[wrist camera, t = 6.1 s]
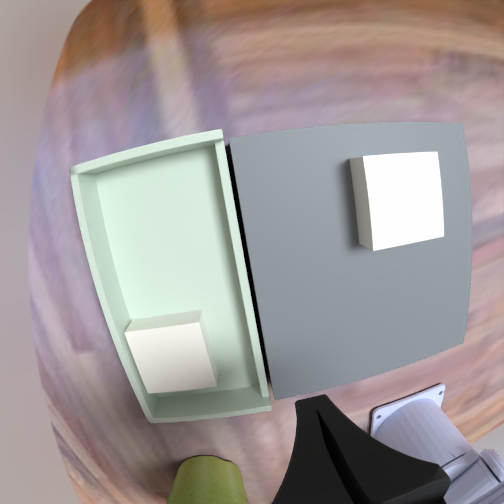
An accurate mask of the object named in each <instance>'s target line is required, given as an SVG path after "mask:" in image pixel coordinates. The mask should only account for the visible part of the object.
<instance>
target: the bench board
mask: <svg viewBox="0 0 504 504" xmlns="http://www.w3.org/2000/svg"><path fill="white" fill-rule="evenodd" d="M229 145H230V151H231V157H232V163H233V169H234V174H235V180H236V186H237V192H238V198H239V203H240V209H241V215H242V221H243V227H244V232H245V238H246V244H247V250H248V255H249V261H250V267H251V272H252V278H253V284H254V290H255V295H256V301H257V307H258V312H259V318H260V324H261V329H262V335H263V341H264V346H265V352H266V357H267V363H268V369H269V374H270V380H271V385H272V390H273V395H274V399H275V400H277V399H282V398H287V397H292V396H297V395H302V394H306V393H311V392H315V391H319V390H323V389H328V388H332V387H335V386H339V385H343V384H347V383H350V382H354V381H358V380H361V379H365V378H368V377H371V376H375V375H378V374H381V373H384V372H387V371H390V370H393V369H396V368H399V367H402V366H405V365H408V364H411V363H414V362H416V361H419V360H422V359H425V358H427V357H430V356H433V355H435V354H438V353H440V352H443V351H445V350H448V349H450V348H452V347H455V346H457V345H459V344H462V343H464V337H465V330H466V323H467V315H468V307H469V297H470V286H471V270H472V200H471V185H470V174H469V164H468V155H467V148H466V141H465V134H464V128H463V123H444V122H384V123H360V124H344V125H330V126H318V127H308V128H298V129H290V130H281V131H274V132H266V133H259V134H252V135H246V136H239V137H233V138H229ZM416 152H438V160H439V168H440V178H441V188H442V201H443V219H444V237H439V238H434V239H429V240H425V241H420V242H415V243H410V244H406V245H401V246H396V247H391V248H386V249H381V250H376V251H372V250H370V249H369V248H367V247H365V246H363V245H361V244H359V235H358V225H357V215H356V206H355V197H354V189H353V182H352V175H351V168H350V161H349V158H356V157H363V156H373V155H386V154H400V153H416Z"/></svg>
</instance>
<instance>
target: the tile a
mask: <svg viewBox="0 0 504 504" xmlns="http://www.w3.org/2000/svg"><path fill="white" fill-rule="evenodd" d="M124 333H125V336H126V339H127V342H128V344H129V347H130V350H131V352H132V355H133V358H134V360H135V363H136V366H137V368H138V371H139V373H140V376H141V378H142V381H143V383H144V385H145V388H146V390H147V393H162V392H174V391H185V390H194V389H203V388H211V387H217V377H218V369H217V366H216V362H215V358H214V354H213V351H212V347H211V343H210V339H209V335H208V331H207V327H206V323H205V319H204V315H203V311H202V309H199V310H193V311H186V312H180V313H173V314H166V315H159V316H152V317H145V318H138V319H132V321H131V322H130V324H129V326H128V327H127V329H126V330H125V332H124Z"/></svg>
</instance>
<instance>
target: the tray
mask: <svg viewBox="0 0 504 504" xmlns="http://www.w3.org/2000/svg"><path fill="white" fill-rule="evenodd" d="M69 170H70V177H71V183H72V189H73V195H74V200H75V205H76V211H77V216H78V220H79V225H80V230H81V234H82V238H83V242H84V247H85V251H86V255H87V258H88V262H89V266H90V270H91V273H92V277H93V280H94V284H95V287H96V291H97V294H98V297H99V300H100V303H101V307H102V310H103V313H104V316H105V319H106V322H107V324H108V327H109V330H110V333H111V336H112V338H113V341H114V344H115V346H116V349H117V352H118V354H119V357H120V359H121V362H122V364H123V367H124V369H125V372H126V374H127V376H128V379H129V381H130V383H131V386H132V388H133V390H134V393H135V395H136V397H137V399H138V401H139V404H140V406H141V408H142V410H143V412H144V414H145V416H146V418H147V420H148V422H149V423H169V422H184V421H196V420H206V419H216V418H224V417H232V416H239V415H246V414H253V413H259V412H265V411H270V410H272V407H271V402H270V396H269V391H268V385H267V380H266V375H265V369H264V364H263V359H262V353H261V348H260V342H259V337H258V332H257V326H256V321H255V315H254V310H253V304H252V299H251V293H250V288H249V282H248V276H247V271H246V265H245V260H244V254H243V248H242V243H241V237H240V232H239V226H238V220H237V215H236V209H235V203H234V197H233V192H232V186H231V180H230V174H229V169H228V163H227V157H226V151H225V145H224V139H223V134H222V129H218V130H213V131H207V132H202V133H197V134H192V135H187V136H183V137H178V138H173V139H169V140H165V141H160V142H156V143H152V144H148V145H144V146H140V147H136V148H133V149H129V150H125V151H122V152H118V153H114V154H111V155H108V156H104V157H101V158H98V159H94V160H91V161H88V162H85V163H82V164H79V165H76V166H73V167H70V168H69ZM199 309H202V311H203V315H204V319H205V323H206V327H207V331H208V335H209V339H210V343H211V347H212V351H213V354H214V358H215V362H216V366H217V369H218V377H217V387H211V388H203V389H194V390H185V391H174V392H162V393H147V390H146V388H145V385H144V383H143V381H142V378H141V376H140V373H139V371H138V368H137V366H136V363H135V360H134V358H133V355H132V352H131V350H130V347H129V344H128V342H127V339H126V336H125V333H124V332H125V330H126V329H127V327H128V326H129V324H130V322H131V321H132V319H138V318H145V317H152V316H159V315H166V314H173V313H180V312H186V311H193V310H199Z"/></svg>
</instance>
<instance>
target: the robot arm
mask: <svg viewBox="0 0 504 504" xmlns="http://www.w3.org/2000/svg"><path fill="white" fill-rule="evenodd" d="M444 391H445V385H444V384H443V383H441V384H439V385H436V386H434V387H432V388H429V389H427V390H424V391H422V392H419V393H417V394H414V395H412V396H409V397H406V398H404V399H401V400H398V401H396V402H393V403H390V404H387V405H384V406H381V407H378V408H376V409H375V410H374V411H373V415H372V425H371V434H370V435H369V434H367V433H366V432H365V431H363V430H362V429H361V428H359V427H358V426H357V425H356V424H354V423H353V422H352V421H351V420H350V419H349V418H348V417H347V416H345V415H344V414H343V413H342V412H341V411H340V410H339V409H338V408H337V407H336V406H335V404H334V403H333V402H332V401H331V400H330V399H329V397H328V396H327V395H325V394H323V395H319V396H315V397H311V398H307V399H302V400H298V401H296V402H295V408H296V415H297V426H296V436H295V442H294V447H293V452H292V456H291V459H290V463H289V466H288V469H287V472H286V474H285V477H284V479H283V482H282V484H281V486H280V488H279V490H278V492H277V494H276V496H275V498H274V500H273V502H272V504H504V461H503V460H502V459H501V458H500V456H499V455H498V454H497V453H496V452H495V450H494V449H489V450H487V449H484V450H483V451H482V452H481V453H480V454H481V456H482V457H483V458H484V459H483V458H482V457H481V456H480V455H479V454H478V453H477V452H476V451H475V450H474V449H473V448H472V447H471V445H470V444H469V443H468V442H467V440H466V439H465V438H464V437H463V435H462V434H461V433H460V432H459V430H458V429H457V428H456V427H455V426H454V424H453V423H452V422H451V421H450V419H449V418H448V417H447V416H446V415H445V413H444V412H443V411H442V410H441V409H440V407H441V403H442V399H443V395H444Z"/></svg>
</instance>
